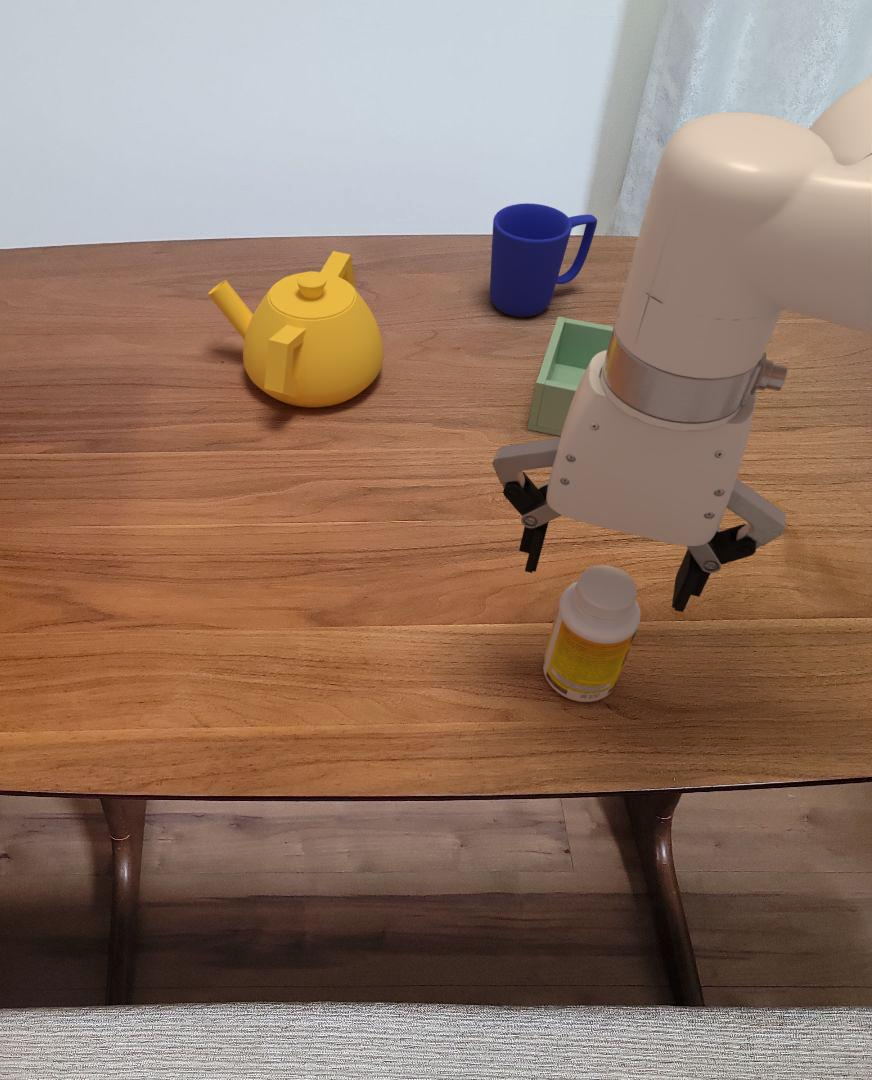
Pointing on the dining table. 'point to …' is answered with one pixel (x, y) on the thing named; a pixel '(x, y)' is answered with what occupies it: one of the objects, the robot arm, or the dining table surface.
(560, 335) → the bin
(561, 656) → the supplement bottle
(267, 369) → the teapot
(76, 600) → the dining table surface
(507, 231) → the mug
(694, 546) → the robot arm
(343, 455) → the dining table surface
